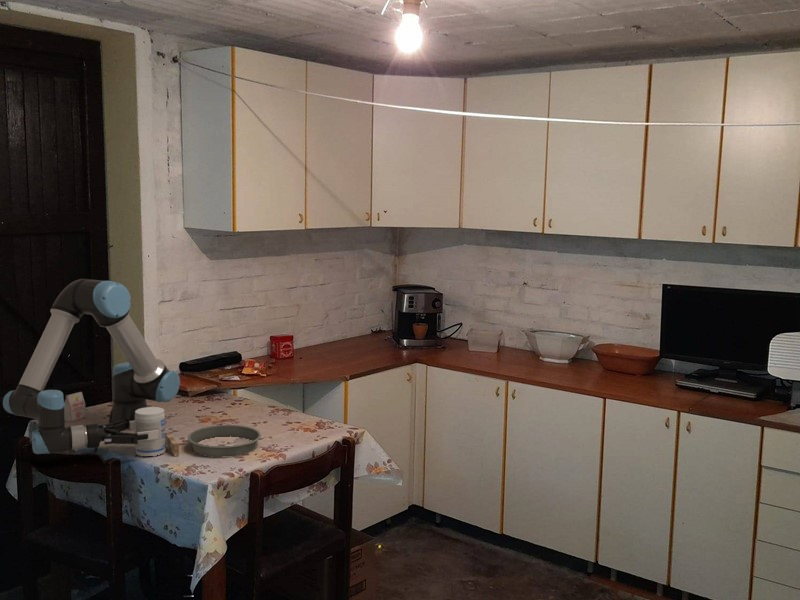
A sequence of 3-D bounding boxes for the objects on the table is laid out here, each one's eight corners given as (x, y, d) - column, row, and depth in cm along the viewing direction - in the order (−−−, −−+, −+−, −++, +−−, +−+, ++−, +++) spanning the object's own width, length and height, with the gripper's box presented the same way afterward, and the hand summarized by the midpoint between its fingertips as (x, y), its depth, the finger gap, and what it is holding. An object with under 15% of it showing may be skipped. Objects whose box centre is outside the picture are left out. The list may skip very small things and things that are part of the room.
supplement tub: (169, 455, 257) (168, 412, 255) (140, 459, 251) (139, 416, 249) (160, 446, 265) (159, 405, 263) (132, 451, 259) (131, 408, 257)
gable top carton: (63, 420, 291) (62, 394, 290) (78, 416, 297) (78, 391, 296) (70, 422, 289) (69, 396, 288) (85, 418, 295) (84, 392, 294)
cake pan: (227, 464, 250) (227, 451, 249) (172, 450, 262) (172, 437, 261) (275, 444, 271) (275, 431, 271) (222, 432, 283) (222, 420, 282)
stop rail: (179, 456, 256) (178, 444, 255) (174, 456, 255) (174, 445, 255) (169, 443, 268) (169, 432, 267) (165, 444, 267) (164, 433, 267)
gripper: (81, 436, 258) (146, 429, 269) (91, 460, 237) (162, 450, 247) (80, 415, 257) (146, 408, 268) (90, 436, 236) (161, 427, 246)
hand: (154, 428), depth 257 cm, fingers open, 13 cm apart
